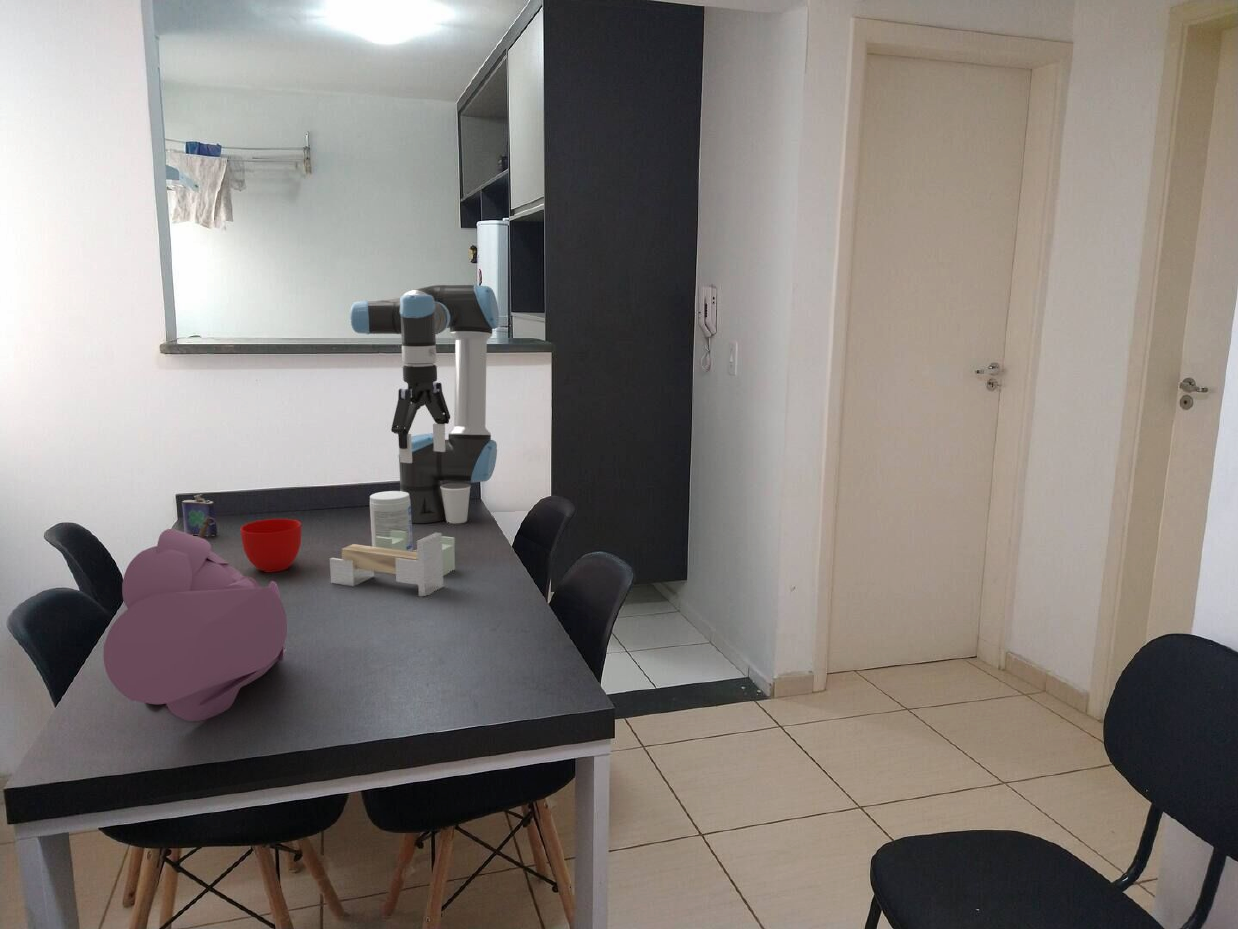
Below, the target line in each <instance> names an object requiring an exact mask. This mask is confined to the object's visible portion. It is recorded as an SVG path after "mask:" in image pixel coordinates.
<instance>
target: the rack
mask: <svg viewBox="0 0 1238 929" xmlns="http://www.w3.org/2000/svg"><path fill="white" fill-rule="evenodd" d="M406 538H407V532H404V531H396V530H391V531H390V537H389V538H388V537H380V536H376V537H375V543H376V547H379V548H386V549H394V550H402V551H407V550H406ZM455 545H456V538H455V537H453V536H443V535H442V558H443V577H444V576H447V574H449V573H451V572H453V571H455V570H456V562H455V561H456V557H455V553H456V552H455ZM452 570H453V571H452ZM450 571H451V572H450Z"/></svg>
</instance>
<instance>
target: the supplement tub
mask: <svg viewBox="0 0 1238 929" xmlns="http://www.w3.org/2000/svg"><path fill="white" fill-rule="evenodd" d="M369 514H370V531H371V533H370V534H371V547H376V543H375V537H376V536H380V537H388V538H389V537H390V531H391V530H396V531H404V532H407V538H406V550H407V551H409V552H413V550H414V548H413V547H414V545H413V527H412V526H413V523H412V522H411V504H410V496H409V493H407V492H402V491H400V490H389V491H380V492H375V493H372V494H371V495H370V496H369Z"/></svg>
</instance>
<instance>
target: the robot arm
mask: <svg viewBox="0 0 1238 929" xmlns="http://www.w3.org/2000/svg"><path fill="white" fill-rule="evenodd" d="M498 306H499V305H498V302H497V297H496V294H495V292H494V290H493V289H492V288H491V287H490V286H487V285H480V284H464V285H463V284H461V285H460V284H457V285H456V284H455V285H454V284H452V285H451V284H445V285H444V284H436V285H429V286H426V287H421V288H418V289H412V290H410V291H407V292H405V293H404V294H403V295H401V296H396V297H392V298H386V299H381V300H374V301H369V300H364V301H355V302H354V303H352V305H351V307H350V314H349V315H350V316H349V318H350V319H349V320H350V324H351V325H350V326H351V327H352V330H353V331H354V332H355V333H357V334H366V335H370V334H371V335H383V334H384V335H401V362H402V363H403V364H404V365H403V366H402V379H403V381H404V383H406V384H407V388H399V389H398V393H397V396H398V397H397V398H398V399H397V404H396V408H395V411H394V412H395V413H394V416H393V420H392V423H391V424H392V425H391V428H390V429H391V432H392V433H394V434H397V437H398V464H399V467H398V468H399V469H398V470H399V485H400V488H399V489H400V490H399V491H402V492H407V493H409V496H410V504H411V522H412V524H425V523H427V524H428V523H436V522H440V521H445V520H446V516H445V510H444V504H443V497H442V491H441V488H440V486H441V485H443V482H456V483H473V484H474V483H480V482H484V483H485V482H488V481H489V480H490V479H491V478H492V476H493V473H494V471H495V467H496V462H497V457H498V456H497V455H498V449H497V448H498V445H497V442H496V441H495V440H493V439H492V436H491V435H492V434H491V432H490V431H489V430H488V429H487V428H486V414H487V412H486V410H487V409H486V408H487V350H488V349H487V346H488V344H487V342H488V341H489V339H491V337H492V336H493V330H496V329H497V328H499V326H500V323H499V321H500V313H499V307H498ZM447 329H449V335H450V336H451V337H452V338H453V340H454V341H455V342H454V343H455V344H454V346H455V348H454V402H453V403H454V404H453V405H454V409H453V410H454V413H453V414H454V415H453V416H454V417H453V418H454V419H453V420H454V421H453V422H454V423H453V425H454V426H453V428H452V429H451V430H450V431H449V432H448V439H446V424H447V425H448V424H449V423H450V420H451V414H450V410H449V409H448V408H449V407H448V404H447V402H446V398H445V396H444V393H443V386H442V383H441V382H437V381H438V366H437V365H436V364H435V363H437V347H436V345H437V343H436V342H437V341H436V339H437V338H436V335H438V334H441V333H443V332H444V331H445V330H447ZM424 406H425V408H426V409H427V410H428V413H429V414H430V416H431V417H432V419H433V421H434V422H435V423H432V432H433V433H421V434H416V435H412V433H410V430H411V427H412V425H413V422H414V420H415V417H416V415H417V412H418V410H420V409H421V407H424Z"/></svg>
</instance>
